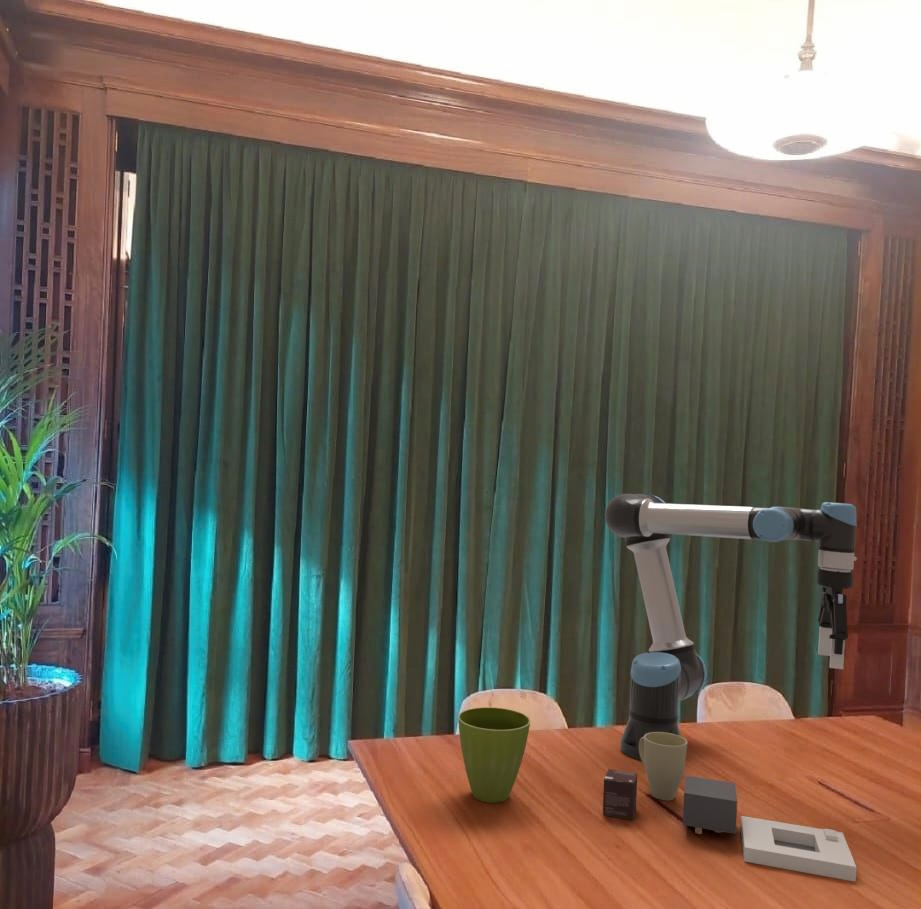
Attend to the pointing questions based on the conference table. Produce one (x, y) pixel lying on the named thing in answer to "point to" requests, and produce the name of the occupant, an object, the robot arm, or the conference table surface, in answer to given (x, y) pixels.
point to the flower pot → (492, 750)
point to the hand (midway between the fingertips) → (830, 661)
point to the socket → (797, 848)
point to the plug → (710, 805)
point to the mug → (663, 762)
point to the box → (620, 794)
